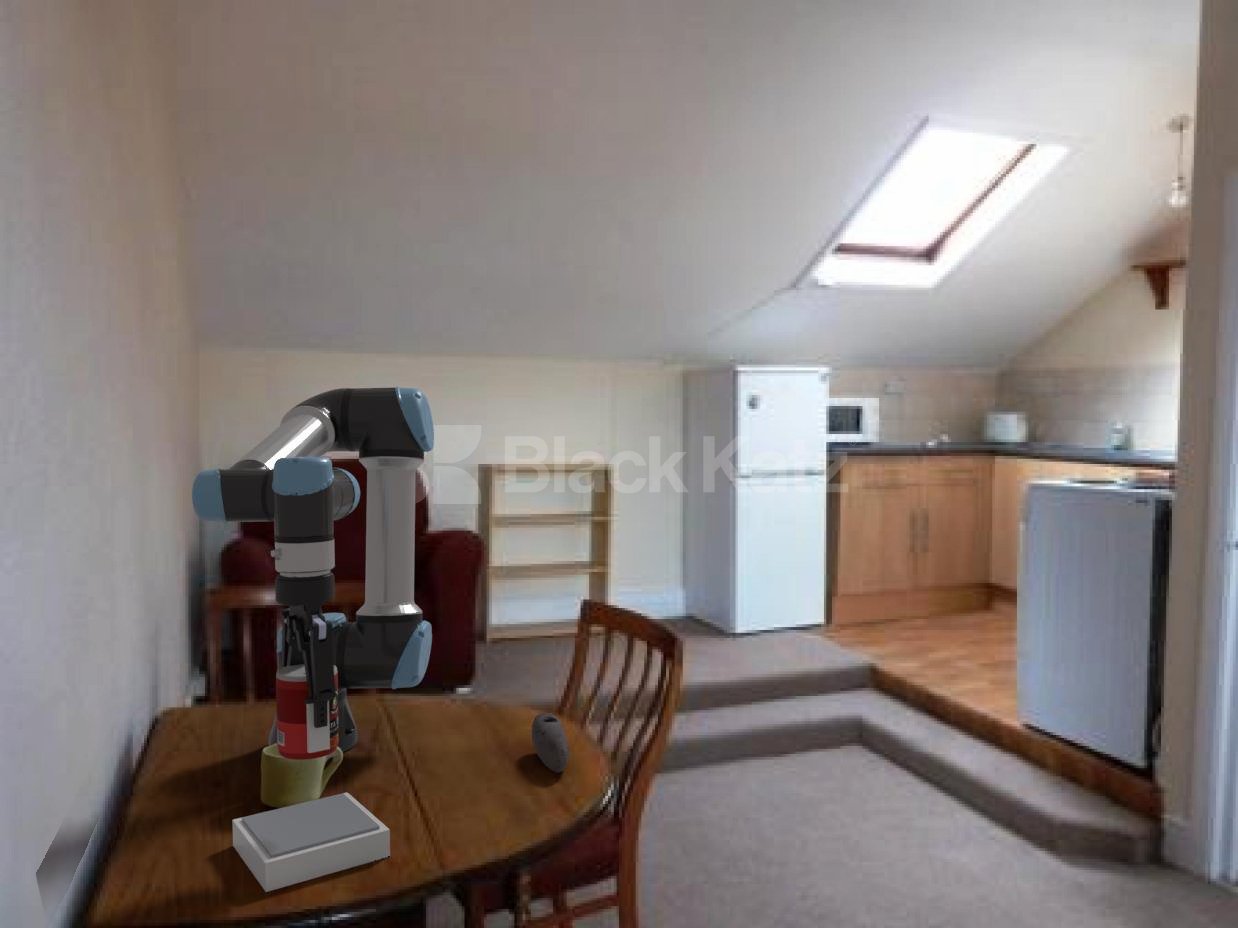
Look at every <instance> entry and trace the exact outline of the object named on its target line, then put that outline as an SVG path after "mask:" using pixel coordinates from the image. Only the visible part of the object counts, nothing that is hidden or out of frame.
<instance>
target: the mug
mask: <svg viewBox="0 0 1238 928" xmlns="http://www.w3.org/2000/svg"><path fill="white" fill-rule="evenodd" d="M330 758H332V762H330V763H329V764H328V766H326V768H325V765H326V763H327V762H328V760H329V759H330ZM343 758H344V752H342V751H341V749H340V748H339V747H338V746H337V749H336V750H335V751H334V752H333V753H331V754H329V755H326V756H323V757H320V758H315V759H306V760H295V759H288V758H285V757H283V756H281V755H280V753H279V750H278V747H277V743H275V744H273V745H272V746H269V745H268V746H266V747H263V749H262V750H261V762H260V771H261V772H260V773H261V774H260V775H261V778H260V780H261V782H260V783H261V785H260V800H261V803H262V804H263V805H264V806H268V807H270V808H275V809H279V808H284V807H288V806H292V805H296V804H300V803H305V802H309V801H313V800H317V799H321V798H320V797H321V794H322V793H323V791H324V790H325V789H326V785H327V784H328V781H329V780H330V778H331V776H332V775H333V774H334V773H335V772H336V771H337V769H338V767H339V766H340V765H341V763H342V761H343Z"/></svg>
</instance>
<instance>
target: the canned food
mask: <svg viewBox="0 0 1238 928" xmlns="http://www.w3.org/2000/svg"><path fill="white" fill-rule="evenodd" d="M333 666H334V680H335V692H336V697H335V698H334V699H330V700H329V725H330V749H327V750H322V751H317V752H312V753H308V752H307V706H306V705H305V704H304V700H305V699H309V693H308V686H307V680H306V673H305V666H304V664H300V665H292V666H286V667H283V668H281V669H279V670H278V669H277V671H275V672H276V676H275V698H276V700H275V702H276V705H275V706H276V713H277V747H278V750H279V753H280V755H281V756H283V757H285V758H288V759H295V760H306V759H315V758H320V757H323V756H326V755H329V754H331V753H333V752H334V751H335V750H336V749H337V746H338V742H339V733H338V672H337V667H336V666H335V665H333ZM321 691H323V690H321Z"/></svg>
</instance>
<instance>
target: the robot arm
mask: <svg viewBox="0 0 1238 928" xmlns="http://www.w3.org/2000/svg"><path fill="white" fill-rule="evenodd" d="M433 422H434V421H433V416H432V411H431V408H430V404H429V402H428V399H427V396H426V395H425V394H424V393H423V391H421V390H420V389H417V388H409V387H399V386H395V387H373V388H372V387H368V388H367V387H365V388H363V387H362V388H359V387H358V388H355V387H354V388H347V387H346V388H345V387H343V388H342V387H341V388H336V389H335V388H334V389H332V390H327V391H325V392H320V393H318V394H316V395H313V396H311V397H309V398H307V399H305V400H303V401H301V402H300V403H298V404H296V405H295V406H294V407H292V408H291V409H290V410H288V411H287V412H286V413H285V414H284V416H283V417H282V418H281V421H280V424H279V427H277V428H276V429H275V430H274V431H272V432H271V433H270V434H269V435H268V436H267V437H265V438H264V439H263V440H262V441H260V442H259V443H258V444H257V445H256V446H255V447H253V448H252V449H251V450H250V451H248V452H247V453H246V454H245V455H244V456H242V457H241V458H240V459H239V460H237V462H235V463H234V464H233V465H232V466H231V467H229V468H227V469H224V468H223V469H221V468H216V469H206V470H202V471H200V472H199V473H198V474H197V475H196V476H195V478H194V481H193V482H192V483H193V484H192V489H191V490H192V491H191V501H192V505H193V510H194V512H195V514H196V516H197V517H198V518H199V519H201V520H202V521H204V522H218V523H219V522H221V523H223V524H225V523H226V524H227V523H241V522H242V523H244V522H245V523H246V522H247V523H254V522H256V523H258V522H273V525H274V526H273V527H274V530H273V531H274V547H275V548H274V549H273V550H271V551H270V556H271V557H272V558H274V567H275V571H276V572H278V573H280V574H277V575H276V577H275V579H274V586H275V588H274V590H275V592H274V593H275V602H276V603H278V604H279V605H282V606H289V608H283V609H282V610H281V612H280V613H281V625H282V626H280V628H279V629H278V632H277V648H276V650H275V651H276V654H277V655H276V657H277V659H276V660H277V671H278V670H279V669H281V668H283V667H286V666H292V665H300V664H304V666H305V673H306V680H307V686H308V693H309V699H305V700H304V704H305V705H306V706H307V752H308V753H312V752H317V751H322V750H327V749H330V725H329V700H330V699H334V698H335V697H336V692H335V680H334V666H333V665H335V666H336V667H337V672H338V733H339V742H338V747H339V748H340V749H341V751H342V753H344V752H346V751H348V750H351V749H352V748H353V747H355V746H356V745H357V743H358V727H357V725H356V722H355V719H354V717H353V714H352V711H351V707H350V706H349V703H348V700H347V699H348V698H347V689H392V690H396V689H400V688H401V689H402V688H413V687H415V686H418V685H419V684H420V683H421V682H422V681H423V679H424V677H425V673H426V672H427V668H428V665H429V661H430V655H431V650H432V643H433V642H432V641H433V633H432V631H433V629H432V627H433V626H432V624H431V623H430V622H429V621H427V620H423V610H422V609H421V608H420V607H419V605H417V604H416V603H415V547H416V546H415V539H416V538H415V536H416V534H415V533H416V532H415V530H416V527H415V525H416V473H417V470H418V469H419V468H420V467H421V465H422V464H424V462H425V452H426V453H428V452H431V451H432V450H433V449H434V445H435V444H434V443H435V441H434V440H435V432H434V431H435V429H434V423H433ZM330 452H333V453H334V452H354V453H355V452H358V462H359V463H361V464H362V466H363V467H364V468H365V470H366V472H367V473H366V475H367V476H366V479H367V480H366V520H365V522H366V526H365V527H366V529H365V531H366V533H365V582H364V583H365V587H364V589H365V592H364V594H365V595H364V604H363V605H362V606H361V607H360V608H359V609H358V610H357V611H356V613H355V621H354V622H353V621H352V622H351V621H350V622H348V621H347V617H346V615H345V614H344V613H342V612H327V613H326V612H325V613H323V609H322V606H323V605H324V604H325V603H330V602H332V601H333V600H334V599H335V596H336V587H335V586H336V585H335V584H336V583H335V581H336V580H335V574H334V573H333V572H332V571H331V570H333V569H334V568H335V567H336V564H335V562H336V561H335V560H336V559H335V556H336V554H335V537H334V535H335V534H334V532H335V531H334V521H340V519H344V518H345V517H347V516H348V515H349V514H350V513H352V512H353V511H354V510H355V509H356V508H357V506H358V504H359V502H360V498H361V489H360V485H359V482H358V480H357V479H356V477H355V476H354V475H353V474H352V473H350V472H349V471H348V470H346V469H343V468H339V467H336V466H335V467H333V462H332V460H331V459H330V458H329V457H327V456H324V455H325V454H327V453H330ZM321 690H323V691H321ZM271 726H272V727H271V729H270V732H269V738H268V746H272V745H273V744H275V743H277V712H276V714H275V717H274V720H273V724H272V725H271Z"/></svg>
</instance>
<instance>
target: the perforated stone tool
mask: <svg viewBox="0 0 1238 928" xmlns="http://www.w3.org/2000/svg"><path fill="white" fill-rule="evenodd" d="M531 742H532V745H533V747H534V750H535V752H536V754H537V757H538V758H539V759H540V760H541V762H542V763H543V764H544V765H545V766H546V768H548V769H549V770H550V771H552V772H554V773H556V774H557V773H562V772H563V771H564V769H565V768H566V766H567V764H568V759H569V745H568V739H567V736H566V732H565V729H564V728H563V725H562V722H561V721H560V720H559V719H558V717H556V715H554V714H553V713H550V712H540V713H539V714H537V715H536V716H535V717H534V719H533V722H532V726H531Z"/></svg>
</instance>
